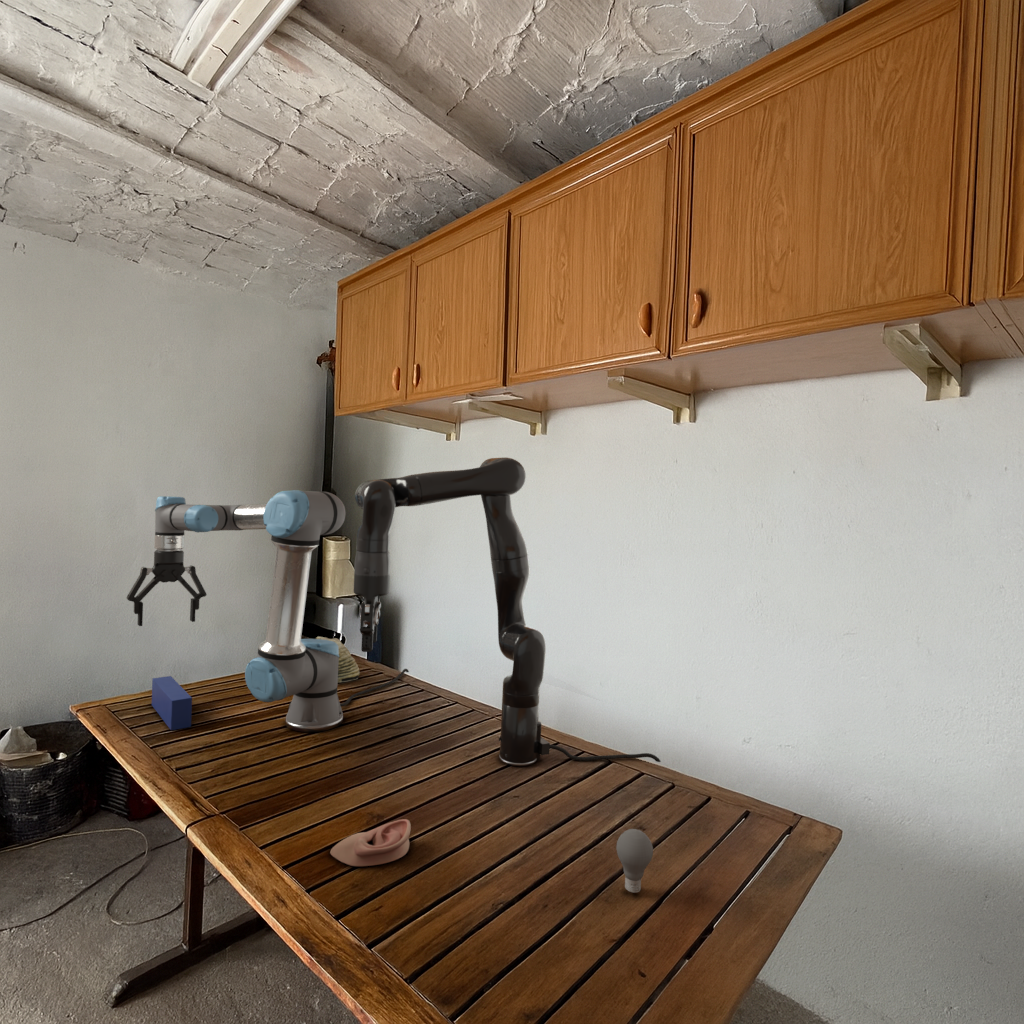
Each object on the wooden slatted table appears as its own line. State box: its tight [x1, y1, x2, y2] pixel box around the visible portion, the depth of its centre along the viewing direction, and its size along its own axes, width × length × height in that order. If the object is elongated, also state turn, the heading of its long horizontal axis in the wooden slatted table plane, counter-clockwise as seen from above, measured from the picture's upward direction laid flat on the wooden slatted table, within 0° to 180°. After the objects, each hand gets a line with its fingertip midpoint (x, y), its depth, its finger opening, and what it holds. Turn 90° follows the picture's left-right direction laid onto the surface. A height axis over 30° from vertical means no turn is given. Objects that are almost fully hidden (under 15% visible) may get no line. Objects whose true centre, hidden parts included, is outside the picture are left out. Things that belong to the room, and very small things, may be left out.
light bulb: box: [615, 828, 654, 894], centre depth 106 cm, size 6×6×10 cm
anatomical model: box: [329, 818, 412, 867], centre depth 114 cm, size 13×4×12 cm
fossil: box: [315, 636, 361, 683], centre depth 216 cm, size 9×18×15 cm, turn 132°
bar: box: [151, 675, 193, 731], centre depth 177 cm, size 24×5×8 cm, turn 40°
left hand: (166, 623), depth 183 cm, fingers open, 13 cm apart
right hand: (369, 646), depth 137 cm, fingers open, 8 cm apart
